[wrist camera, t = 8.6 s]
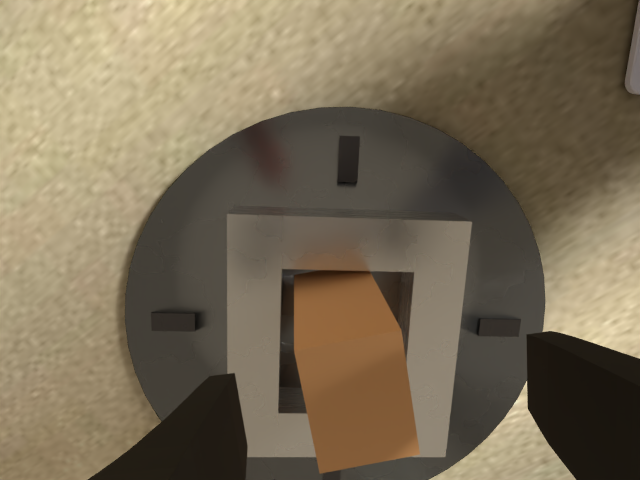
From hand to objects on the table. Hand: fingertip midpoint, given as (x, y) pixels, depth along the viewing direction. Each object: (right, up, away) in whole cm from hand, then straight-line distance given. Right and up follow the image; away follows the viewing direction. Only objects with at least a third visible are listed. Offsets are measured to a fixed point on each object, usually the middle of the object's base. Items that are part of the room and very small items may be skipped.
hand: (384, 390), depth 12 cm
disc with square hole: (-1, 0, +9) cm, 10 cm away
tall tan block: (-1, +1, +9) cm, 9 cm away
